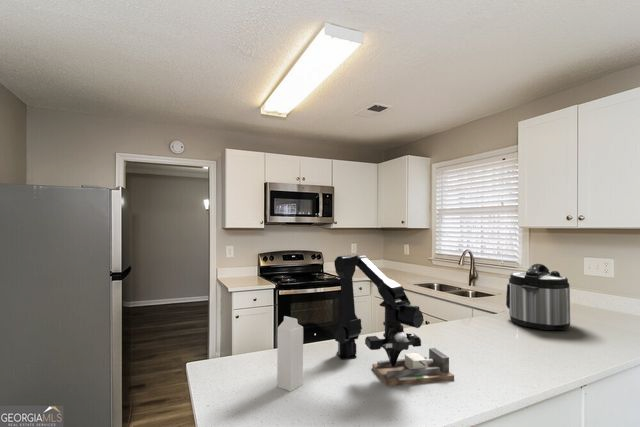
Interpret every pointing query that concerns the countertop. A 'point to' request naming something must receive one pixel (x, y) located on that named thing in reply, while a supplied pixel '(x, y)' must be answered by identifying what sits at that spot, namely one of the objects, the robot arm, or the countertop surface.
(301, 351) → the milk
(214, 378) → the countertop surface
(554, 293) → the pressure cooker
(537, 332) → the countertop surface
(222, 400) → the countertop surface
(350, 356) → the robot arm
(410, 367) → the carriage
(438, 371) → the gauge base
